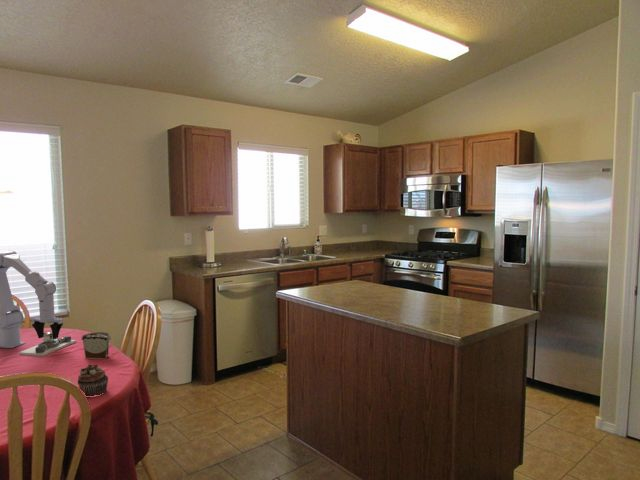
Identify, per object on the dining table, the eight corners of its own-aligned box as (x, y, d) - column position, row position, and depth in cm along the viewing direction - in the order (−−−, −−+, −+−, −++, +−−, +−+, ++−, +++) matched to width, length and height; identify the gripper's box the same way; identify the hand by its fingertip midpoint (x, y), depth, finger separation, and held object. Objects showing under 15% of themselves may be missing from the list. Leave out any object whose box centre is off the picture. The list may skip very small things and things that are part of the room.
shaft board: (19, 354, 196) (18, 348, 196) (54, 340, 216) (53, 335, 216) (42, 356, 194) (42, 350, 194) (76, 342, 214) (75, 337, 214)
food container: (117, 354, 197) (116, 332, 196) (109, 359, 191) (108, 336, 190) (90, 353, 198) (89, 331, 198) (82, 358, 192) (81, 335, 191)
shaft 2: (67, 340, 214) (67, 335, 214) (71, 341, 213) (70, 336, 212) (57, 343, 210) (56, 337, 210) (60, 344, 208) (60, 338, 208)
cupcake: (103, 398, 153) (101, 370, 152) (73, 399, 152) (72, 371, 151) (113, 387, 163) (112, 360, 162) (85, 388, 162) (83, 361, 161)
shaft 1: (42, 353, 196) (42, 347, 196) (35, 353, 195) (35, 347, 195) (47, 349, 201) (47, 344, 201) (40, 350, 200) (40, 344, 200)
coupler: (41, 347, 204) (41, 334, 203) (48, 344, 208) (47, 331, 207) (50, 347, 203) (49, 334, 203) (56, 344, 207) (55, 331, 207)
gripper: (67, 307, 206) (68, 336, 207) (40, 306, 209) (41, 334, 210) (55, 311, 199) (57, 341, 200) (27, 309, 202) (29, 339, 203)
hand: (48, 338), depth 205 cm, fingers open, 7 cm apart
